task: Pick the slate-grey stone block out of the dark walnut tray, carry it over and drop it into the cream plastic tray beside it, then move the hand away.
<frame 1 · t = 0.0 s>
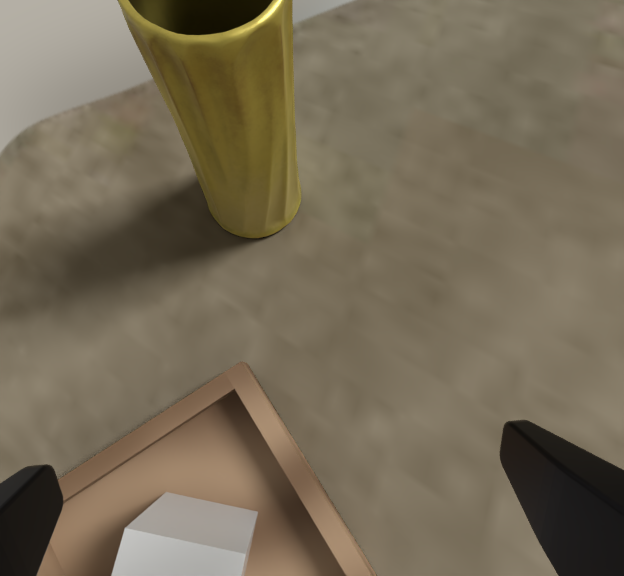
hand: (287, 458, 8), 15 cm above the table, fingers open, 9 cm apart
stone block: (199, 554, 20), point 1 cm above the table, touching walnut tray
vase: (254, 196, 25), on the table
walnut tray: (202, 549, 20), on the table
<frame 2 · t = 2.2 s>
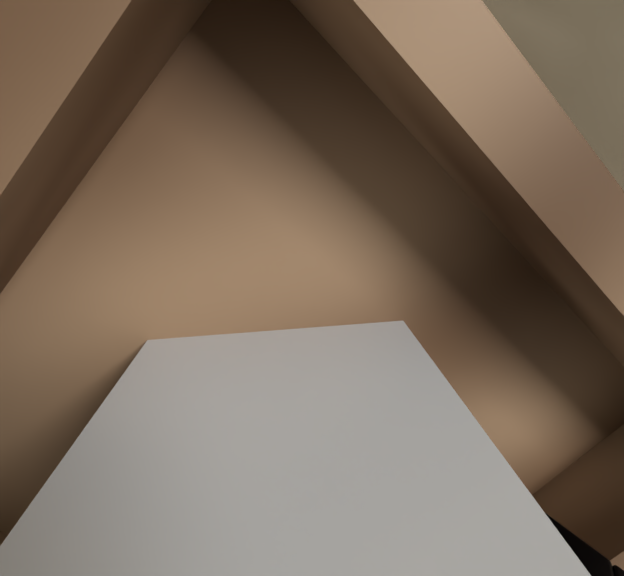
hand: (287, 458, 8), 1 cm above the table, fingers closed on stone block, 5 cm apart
stone block: (286, 434, 8), point 1 cm above the table, touching gripper, walnut tray
walnut tray: (286, 416, 9), on the table
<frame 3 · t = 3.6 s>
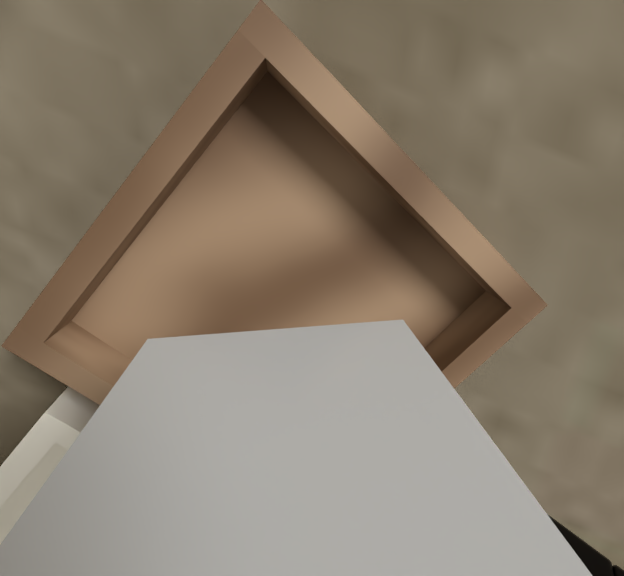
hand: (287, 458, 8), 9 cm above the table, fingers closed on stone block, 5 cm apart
stone block: (286, 432, 8), point 8 cm above the table, touching gripper
walnut tray: (284, 300, 16), on the table
cream tray: (125, 539, 20), on the table
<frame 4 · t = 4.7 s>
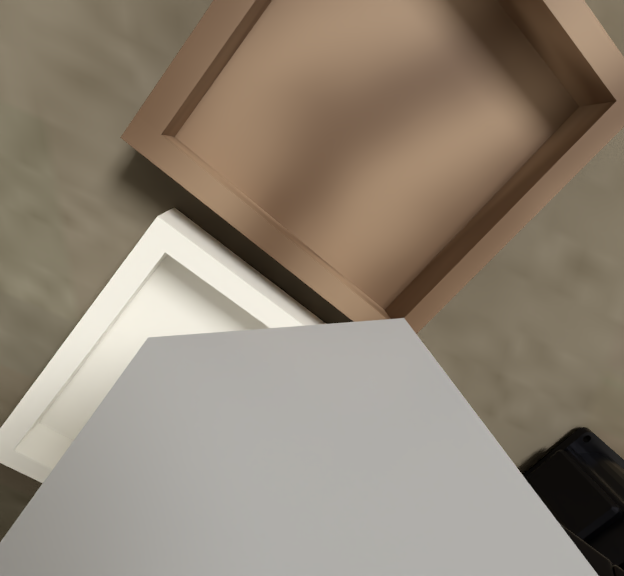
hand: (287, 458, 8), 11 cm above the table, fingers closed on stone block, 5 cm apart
stone block: (287, 431, 8), point 11 cm above the table, touching gripper
walnut tray: (379, 122, 16), on the table
cream tray: (210, 396, 20), on the table
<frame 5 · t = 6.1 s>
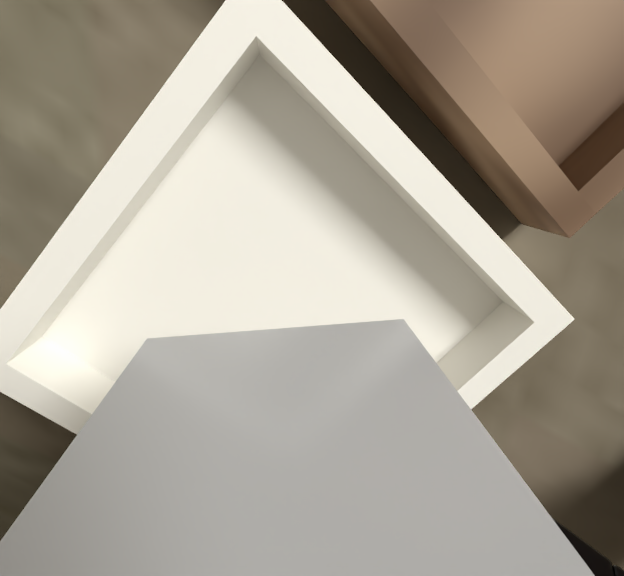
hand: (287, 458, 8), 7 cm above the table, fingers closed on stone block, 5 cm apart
stone block: (286, 432, 8), point 7 cm above the table, touching gripper
cream tray: (280, 312, 15), on the table
when the fingers open (3 cm above the table, at t = 7.2 s): stone block drops 2 cm, resting on cream tray.
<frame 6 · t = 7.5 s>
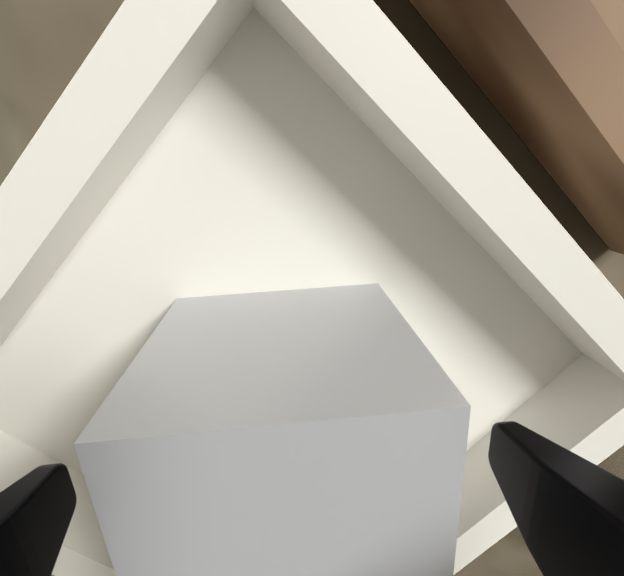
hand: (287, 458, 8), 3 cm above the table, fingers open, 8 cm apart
stone block: (286, 377, 10), point 1 cm above the table, touching cream tray
cream tray: (283, 367, 11), on the table
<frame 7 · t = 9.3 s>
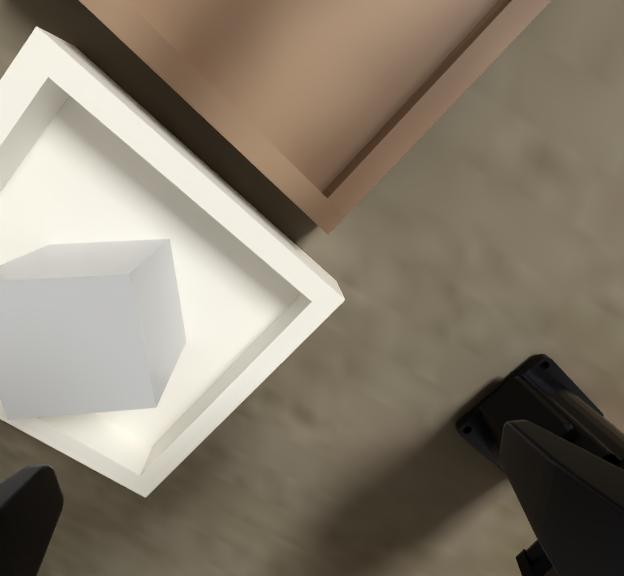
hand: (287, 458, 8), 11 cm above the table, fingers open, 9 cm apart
stone block: (121, 296, 17), point 1 cm above the table, touching cream tray
cream tray: (125, 292, 18), on the table
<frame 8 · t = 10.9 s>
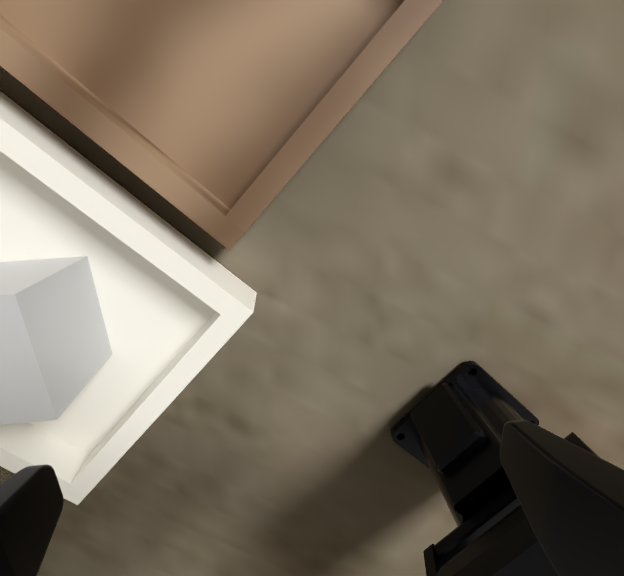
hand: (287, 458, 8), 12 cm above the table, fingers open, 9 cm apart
stone block: (45, 311, 18), point 1 cm above the table, touching cream tray
cream tray: (51, 307, 19), on the table
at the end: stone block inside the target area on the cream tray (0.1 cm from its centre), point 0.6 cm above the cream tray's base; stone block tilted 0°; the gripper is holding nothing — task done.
